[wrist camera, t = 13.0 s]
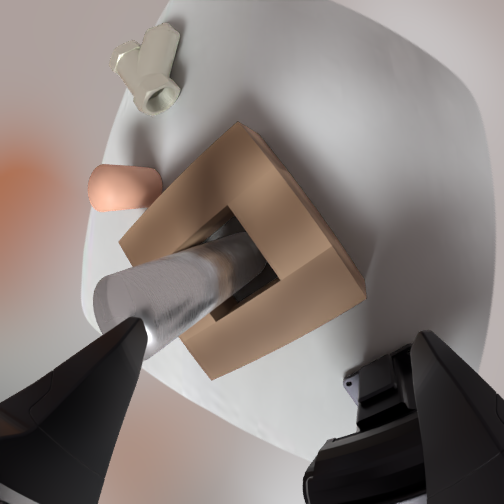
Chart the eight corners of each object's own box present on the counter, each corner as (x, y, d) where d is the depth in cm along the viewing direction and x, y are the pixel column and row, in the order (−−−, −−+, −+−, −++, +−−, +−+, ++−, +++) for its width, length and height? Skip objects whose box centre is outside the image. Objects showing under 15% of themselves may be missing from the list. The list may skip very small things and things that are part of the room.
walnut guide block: (364, 280, 19) (366, 298, 16) (231, 356, 24) (211, 380, 21) (258, 134, 20) (237, 121, 16) (149, 235, 25) (118, 242, 21)
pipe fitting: (174, 28, 21) (126, 74, 23) (153, 10, 18) (101, 61, 20) (216, 68, 21) (159, 120, 23) (196, 48, 17) (132, 108, 19)
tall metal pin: (274, 245, 21) (168, 309, 9) (255, 287, 22) (148, 376, 10) (232, 224, 22) (99, 257, 10) (216, 264, 23) (89, 327, 11)
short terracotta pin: (169, 189, 24) (124, 189, 18) (144, 215, 25) (99, 221, 20) (149, 159, 24) (104, 154, 19) (127, 185, 25) (82, 186, 20)
